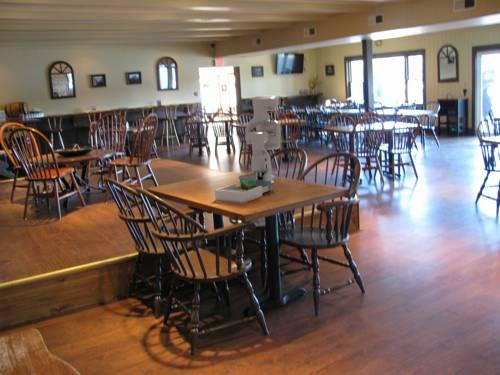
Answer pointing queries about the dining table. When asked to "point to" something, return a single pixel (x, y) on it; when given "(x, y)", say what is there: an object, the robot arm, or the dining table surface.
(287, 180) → the dining table surface
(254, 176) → the food container
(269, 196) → the dining table surface
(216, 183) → the dining table surface
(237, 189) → the tray
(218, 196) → the shallow white open box
